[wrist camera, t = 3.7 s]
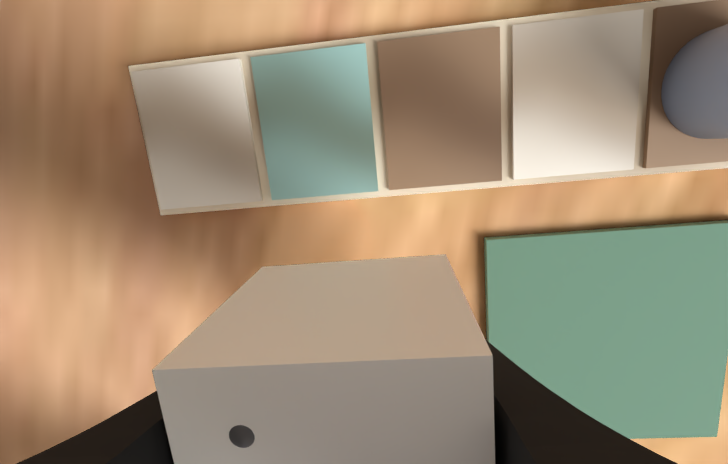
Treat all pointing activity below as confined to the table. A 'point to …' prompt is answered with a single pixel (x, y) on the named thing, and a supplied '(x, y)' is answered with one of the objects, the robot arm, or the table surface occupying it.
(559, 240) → the mat
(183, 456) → the die
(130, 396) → the table surface
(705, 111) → the pawn
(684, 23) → the board
